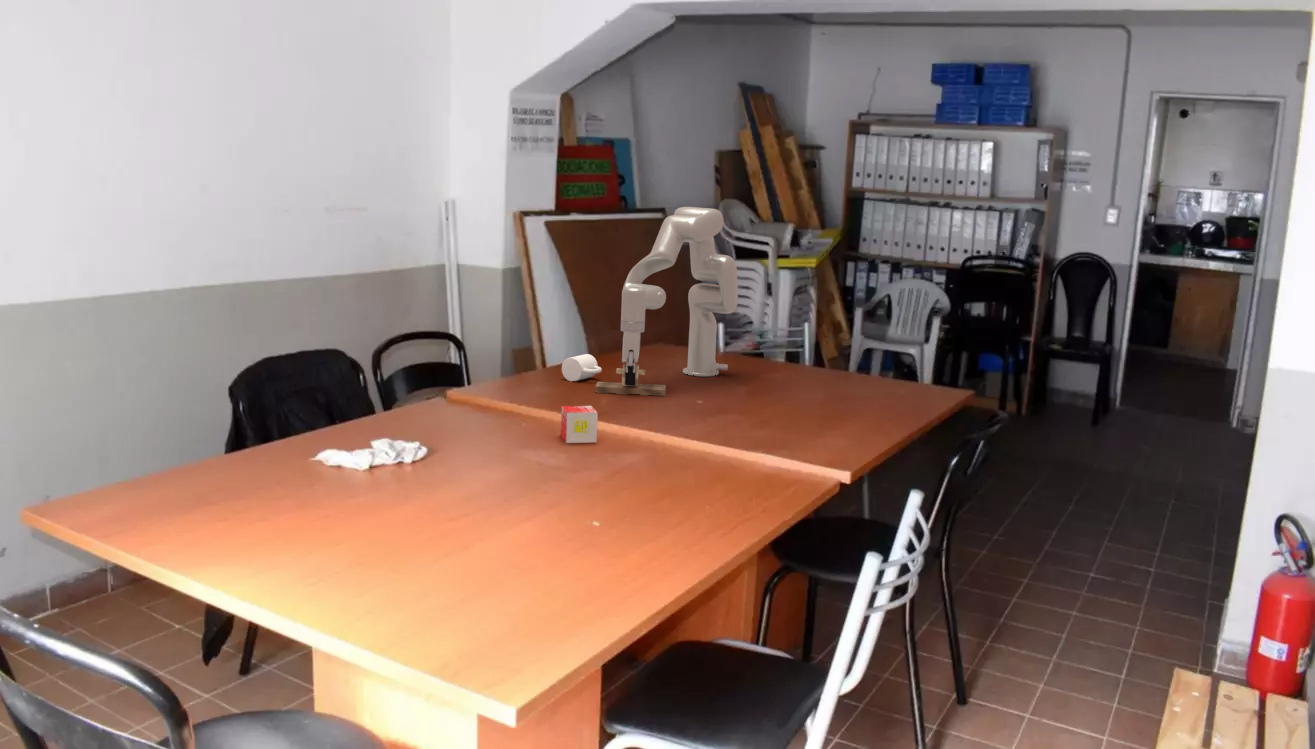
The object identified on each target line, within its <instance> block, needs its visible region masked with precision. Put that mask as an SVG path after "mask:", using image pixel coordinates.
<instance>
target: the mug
mask: <svg viewBox="0 0 1315 749" xmlns="http://www.w3.org/2000/svg"><path fill="white" fill-rule="evenodd" d="M598 365H599V364H598V361H597V360H596V358H595V357H594V356H593V355H592V354H590V353H589V354H588V353H585V354H579V355H576V356H572V357H567V358H565V360H564V361H563V362H562V364H561V373H562V375H563V377H564V379H566V381H569V382H572V381H575V382H578V381H581V380H586V379H589V378H593V377H594V376H595V375H596V374H599V373H601V372H602V371H603V370H602V369H603V368H602V367H601V366H598Z"/></svg>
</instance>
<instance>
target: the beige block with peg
mask: <svg viewBox="0 0 1315 749" xmlns="http://www.w3.org/2000/svg"><path fill="white" fill-rule="evenodd" d="M622 364H623V365H622V368H616V371H615V373H616V374H618V375H622V376H621V383H622V386H638V384H639V376H640V375H641V376H645V375H646V369H640V365H639V364H636V365H635V373H636V376H635V385H625V372H626V364H625V363H622Z"/></svg>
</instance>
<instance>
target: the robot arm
mask: <svg viewBox="0 0 1315 749" xmlns="http://www.w3.org/2000/svg"><path fill="white" fill-rule="evenodd" d="M723 226H724V216H723V214H722V212H721V211H720V210H719V209H716V208H709V207H708V208H707V207H699V206H698V207H697V206H696V207H695V206H682V207H678V208H677V209H675V211H674V213H673V214H672V215H669V216H667V217H666V218H665V219H664V220H663V221H662V224H661V226H660V229H659V231H658V234H657V236H656V239H655V242H654V244H653V246H652V249H651V251H650V253H649V254H648V255H646V256H645V257H643V258H642V259H641V260H639V261H638V262H637V263H636V264H635V265H634V266H633V267H632V268H631V269H630V270H629V273H628V274H627V276H626V279H625V281H624V284H623V287H622V290H621V310H620V312H621V313H620V315H621V316H620V331H621V332H623V334H622V335H623V336H622V337H623V338H622V352H621V353H622V356H621V363H622V364H625V365H626V372H625V385H635V376H636V373H635V365H637V364H638V361H639V357H640V350H641V335H642V334H641V333H644V332H645V326H646V310H657V309H660V308H662V307H663V306H664V305H665V303H666V299H667V294H666V291H665V290H664V289H663V288H662V287H660V286H657V285H652V284H646V283H645V284H644V283H643V281H645V279H647V278H648V277H650V276H651V275H652V274H655V273H657V272H660V271H662V270H666V269H668V268H671V267H673V266H674V265H675V263H676V261H677V259H678V255H679V254H680V251H681V249H682V246H683V244H684V243H688V244H689V253H690V254H689V257H690V271H691V276H692V277H693V278H694V279H695V280H697V281H703V282H709V283H701V282H699V283H696V284H694V285H692V286H691V287H690V289H689V290H688V293H687V294H688V296H687V297H688V298H687V300H688V308H689V329H688V330H689V331H688V348H687V349H688V350H687V352H688V353H687V367H684V368H683V369H682V373H683V374H685V375H687V374H688V376H693V375H694V376H695V377H716V376H718V375H719V374H720V373H719V370H722V371H728V368H729V366H728V364H725V363H717V361H716V350H717V349H716V348H717V346H716V345H717V334H718V333H717V332H718V331H717V330H718V328H717V327H718V324H717V320H716V317H715V315H714V313H717V314H726V315H727V314H728V315H729V314H732V313H734V312H735V311H736V309H737V307H738V304H739V303H738V302H739V287H738V269H737V263H736V261H735V259H734V258H733V257H731V255H726V254H718V253H716V247H715V239H714V237H715V236H716V235H718V234H719V233H720V231H721V230H723ZM710 282H712V283H713V284H712V283H710ZM714 283H718V284H714ZM715 375H716V376H715ZM694 376H693V377H694Z"/></svg>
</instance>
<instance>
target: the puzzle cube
mask: <svg viewBox="0 0 1315 749" xmlns="http://www.w3.org/2000/svg"><path fill="white" fill-rule="evenodd" d="M560 413H561V414H560V420H561V421H560V436H561V438H562V439H563V441H564V442H565V443H566V444H575V443H576V444H577V443H578V444H579V443H597V440H598V439H597V438H598V436H597V434H598V411H596V409H595V408H594V407H593V406H592V405H562V406H561V412H560Z"/></svg>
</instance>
